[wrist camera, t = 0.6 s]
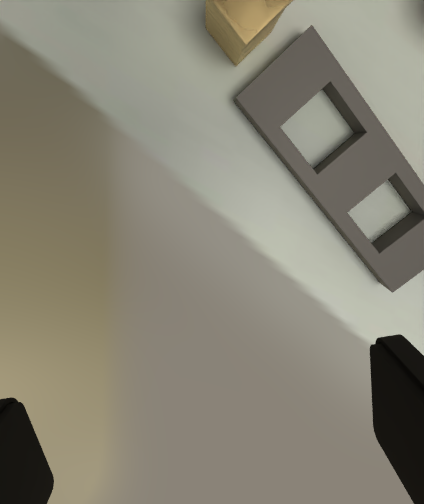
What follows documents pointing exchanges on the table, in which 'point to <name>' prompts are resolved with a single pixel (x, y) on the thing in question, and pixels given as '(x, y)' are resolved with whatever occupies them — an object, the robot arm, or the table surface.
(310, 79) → the rail
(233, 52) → the tan upright block
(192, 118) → the table surface
